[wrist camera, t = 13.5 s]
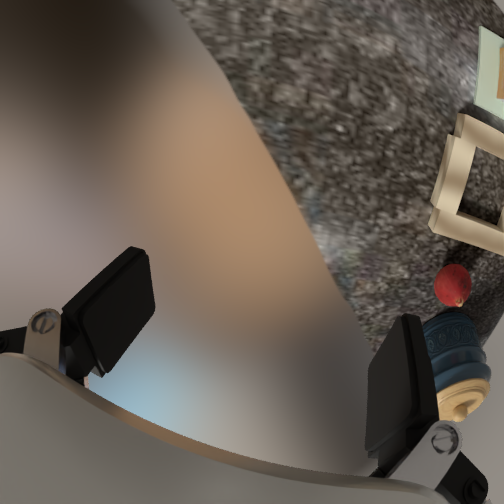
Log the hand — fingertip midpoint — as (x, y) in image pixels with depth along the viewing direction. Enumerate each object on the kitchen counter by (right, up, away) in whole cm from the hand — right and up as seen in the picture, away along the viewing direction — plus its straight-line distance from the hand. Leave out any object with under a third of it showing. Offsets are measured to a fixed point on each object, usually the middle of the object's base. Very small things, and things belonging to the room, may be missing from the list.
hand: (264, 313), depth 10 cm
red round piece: (+29, -1, +25) cm, 38 cm away
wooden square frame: (+31, +11, +18) cm, 37 cm away
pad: (+33, +24, +9) cm, 42 cm away
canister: (+34, -13, +31) cm, 48 cm away
